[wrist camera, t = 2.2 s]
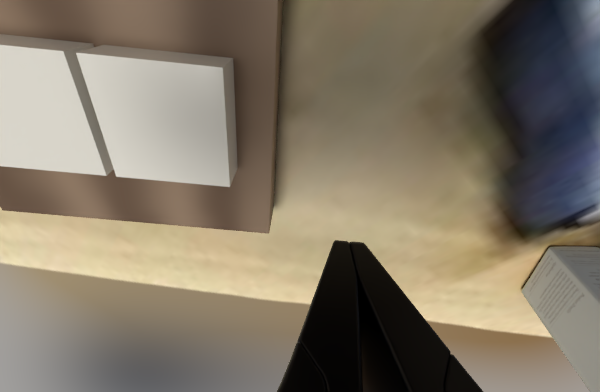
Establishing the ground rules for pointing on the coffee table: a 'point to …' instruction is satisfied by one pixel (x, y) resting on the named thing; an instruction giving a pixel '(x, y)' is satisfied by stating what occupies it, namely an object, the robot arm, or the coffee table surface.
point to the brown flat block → (174, 38)
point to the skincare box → (570, 305)
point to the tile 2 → (164, 113)
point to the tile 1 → (48, 108)
